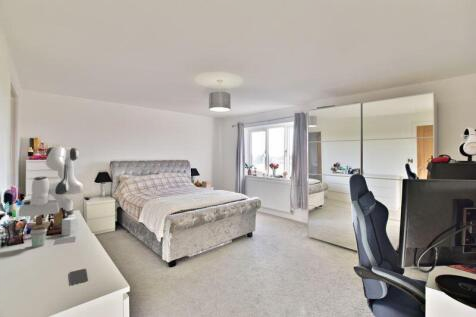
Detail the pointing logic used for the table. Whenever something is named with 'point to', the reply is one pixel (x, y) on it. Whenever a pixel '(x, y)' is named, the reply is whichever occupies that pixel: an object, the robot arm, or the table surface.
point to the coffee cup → (38, 236)
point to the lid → (38, 223)
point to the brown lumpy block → (56, 222)
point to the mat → (64, 240)
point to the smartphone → (78, 276)
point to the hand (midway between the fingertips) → (39, 221)
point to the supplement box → (69, 226)
